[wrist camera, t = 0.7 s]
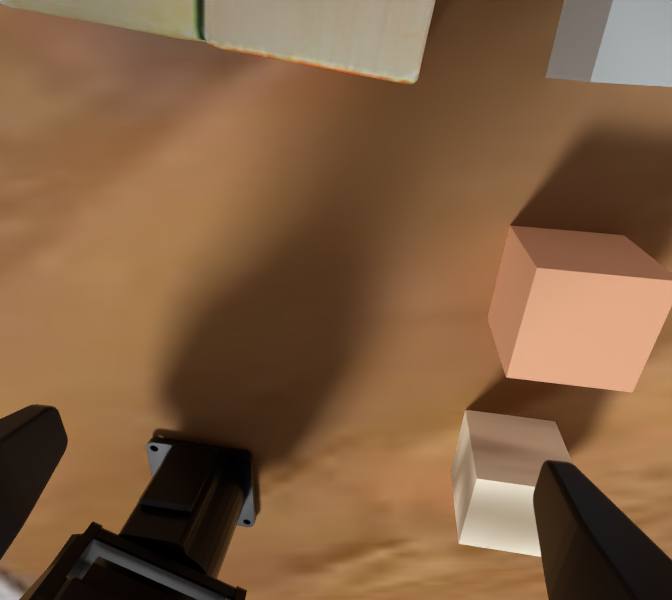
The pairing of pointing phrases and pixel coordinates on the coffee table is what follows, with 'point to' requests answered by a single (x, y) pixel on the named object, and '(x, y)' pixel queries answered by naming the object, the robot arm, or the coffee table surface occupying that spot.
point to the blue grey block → (614, 42)
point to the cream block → (501, 479)
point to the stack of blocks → (277, 28)
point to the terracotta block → (577, 307)
